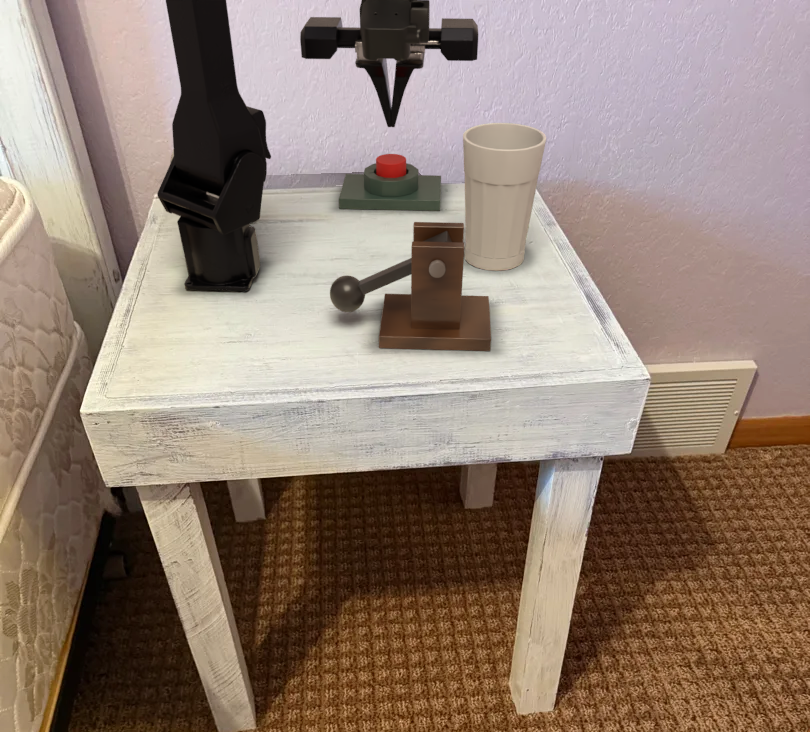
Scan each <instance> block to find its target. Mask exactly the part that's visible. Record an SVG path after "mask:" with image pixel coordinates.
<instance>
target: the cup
mask: <svg viewBox="0 0 810 732" xmlns="http://www.w3.org/2000/svg"><path fill="white" fill-rule="evenodd" d="M546 142H547V136H546V134H545V133H544V132H543V131H542V130H540V129H538V128H535V127H533V126H529V125H525V124H519V123H511V122H493V123H492V122H491V123H482V124H478V125H474V126H472V127H470V128H468V129H466V130H465V131H464V132H463V134H462V146H463V147H462V148H463V150H462V151H463V172H464V221H465V222H464V223H465V224H464V233H465V242H464V260H465V261H466V262H467V263H468V264H469V265H471V266H473V267H475V268H477V269H481V270H484V271H485V270H486V271H507V270H511V269H514V268H517V267H519V266H520V265H521V264H523V262H524V260H525V252H526V243H527V238H528V233H529V227H530V222H531V216H532V212H533V206H534V201H535V196H536V191H537V185H538V181H539V175H540V173H541V167H542V162H543V157H544V153H545V147H546V144H547V143H546Z"/></svg>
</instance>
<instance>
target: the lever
mask: <svg viewBox="0 0 810 732" xmlns="http://www.w3.org/2000/svg"><path fill="white" fill-rule="evenodd" d="M423 242H452V240H451V238H450V236H449V233H448V231H445V232H443V233H440V234H438V235H436V236H434V237H432V238H429V239H427V240H425V241H423ZM408 276H409V277H410V276H411V257H410V258H408V259H406V260H403V261H401V262H398V263H397V264H394V265H392V266H390V267H388V268H385V269H383V270H380V271H378V272H375V273H374V274H371V275H370V276H367V277H364V278H363V279H360V280H359V279H358V278H357V277H356V276H353V275H349V274H348V275H347V274H346V275H341V276H339V277H337V278H336V279H335V280H333V282H332V284H331V286H330V288H329V299H330V302H331V304H332V305H333V306H334V307H335V309H337V310H338V311H340V312H343V313H353V312H356V311H357V310H359V309H360V308H361V307H362V305H363V304H364V302H365V298H366V295H367V294H369V293H371V292H374V291H376V290H378V289H381V288H384V287H386V286H388V285H390V284H392V283H395V282H398V281H399V280H402V279H404V278H406V277H408Z"/></svg>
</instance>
